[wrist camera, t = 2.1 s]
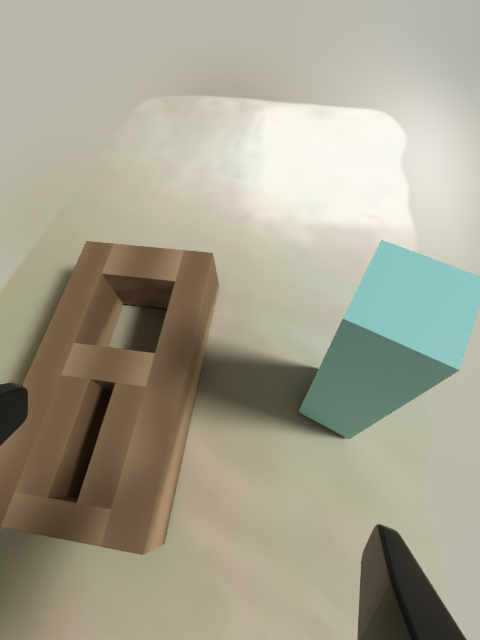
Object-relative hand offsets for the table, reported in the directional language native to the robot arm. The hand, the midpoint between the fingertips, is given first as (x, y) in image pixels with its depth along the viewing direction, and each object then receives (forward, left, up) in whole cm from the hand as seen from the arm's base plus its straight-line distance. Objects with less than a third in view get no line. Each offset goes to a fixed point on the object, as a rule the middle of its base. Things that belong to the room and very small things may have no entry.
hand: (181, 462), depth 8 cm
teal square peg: (+8, 0, -14) cm, 16 cm away
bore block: (-2, +9, -14) cm, 16 cm away
